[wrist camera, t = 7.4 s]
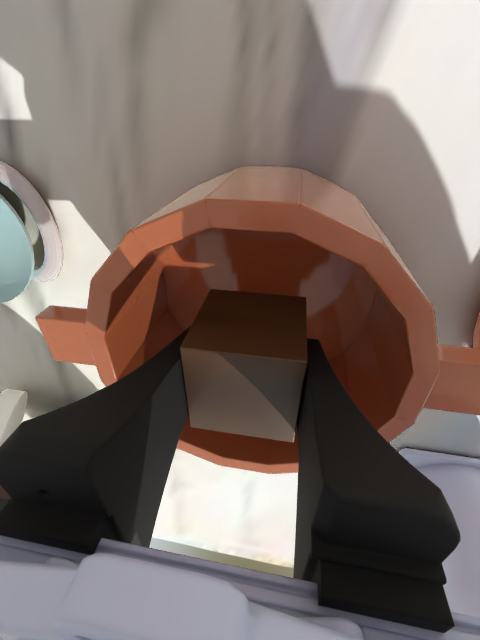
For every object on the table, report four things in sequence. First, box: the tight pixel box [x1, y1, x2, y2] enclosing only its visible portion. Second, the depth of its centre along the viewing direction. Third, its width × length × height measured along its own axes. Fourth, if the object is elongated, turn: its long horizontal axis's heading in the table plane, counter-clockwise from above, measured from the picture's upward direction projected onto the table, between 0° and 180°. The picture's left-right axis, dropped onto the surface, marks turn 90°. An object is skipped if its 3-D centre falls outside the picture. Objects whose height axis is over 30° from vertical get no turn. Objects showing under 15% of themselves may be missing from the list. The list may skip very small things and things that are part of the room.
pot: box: [35, 166, 480, 474], centre depth 14 cm, size 13×18×6 cm
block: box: [180, 289, 307, 442], centre depth 12 cm, size 4×4×4 cm
